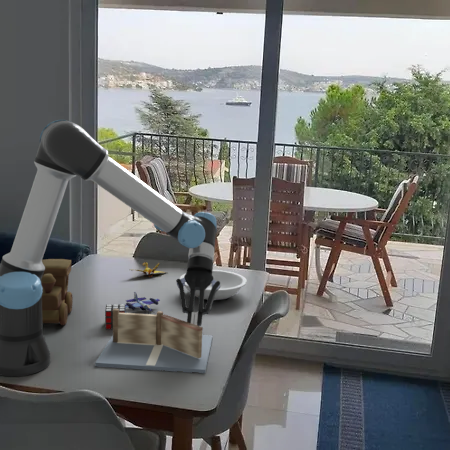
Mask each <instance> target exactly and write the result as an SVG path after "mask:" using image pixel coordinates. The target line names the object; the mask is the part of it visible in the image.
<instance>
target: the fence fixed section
mask: <svg viewBox="0 0 450 450" xmlns="http://www.w3.org/2000/svg"><path fill="white" fill-rule="evenodd" d="M162 315H164V311H161V310H160V311H157V312H156V314H151V313H150V314H148V313H135V312H134V313H133V312H126V313H119V309H113V329H112V335H113V342H128V343H144V344H157V345H162V344H161V316H162Z"/></svg>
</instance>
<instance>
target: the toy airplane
mask: <svg viewBox="0 0 450 450" xmlns="http://www.w3.org/2000/svg"><path fill="white" fill-rule="evenodd" d="M133 293H134V294H133V298H131V299H130V298H129V299H125V302H126V303H125V305H126V308H128V309H130V310H132V311H134V310H135V308H139V310H141V311H144V312H147V311H148V312H147V314H151V313H150V312H152V313H154V310H153V309H151V307H150V305H153V304H154V305H156V306H157V305H159V302H160V301H161V300H160V299H159V298H153V297H152V298H151V297H150V298H149V299H148V300H147V298H146V297H145V296H144V297H139V296H138V294H137V292H136V291H133Z"/></svg>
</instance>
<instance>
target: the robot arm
mask: <svg viewBox="0 0 450 450" xmlns="http://www.w3.org/2000/svg"><path fill="white" fill-rule="evenodd" d="M37 148H38V149H37V152H36V155H35V157H34V161H33V163H34V166H35V167H36V169H37V170H36V174H35V177H34V179H33V182H32V187H31V189H30V192H29V195H28V198H27V201H26V205H25V207H24V209H23V210H24V211H23V213H22V216H21V219H20V222H19V224H18V225H19V226H18V228H17V231H16V235H15V238H14V240H13V244H12V245H11V246H12V247H11V249H10V252H8V253H6V254H4V255H3V256H2V259H1V261H0V376H2V377H23V376H24V377H25V376H29V375H32V374H36V373H39V372H41V371H43V370H45V369H46V368H48V366H50V364H51V351H50V349H49V346H48V344H47V341H46V339H45V336H44V331H43V330H44V329H43V325H44V323H43V321H42V292H43V289H42V285H41V279H42V276H43V273H44V270H45V266H44V265H43V263H42V260H43V258H44V254H45V252H46V249H47V246H48V243H49V240H50V237H51V234H52V231H53V228H54V225H55V223H56V221H57V217H58V216H57V215H58V214H59V211H60V210H59V209H60V207H61V204H62V202H63V198H64V195H65V192H66V189H67V186H68V183H69V181H70V180H71V179H73V178H75V177H77V176H78V177H79V178H81V179H82V180H84V181H85V182H86V181H91V182H94V183H95V184H96V185H98V186H99V187H101V189H103V190H104V191H106V192H108V193H109V194H111V195H112V196H113V197H114V198H116V199H117V200H119V201H120V202H122V203H123V204H125V205H126V206H128V207H129V209H132V210H133V211H135V212H136V213H137V214H139V215H140V216H141V217H143V218H145V219H146V220H148V221H149V222H150V223H151V224H153V226H154V228H155V229H156V230H159V231H160V232H164V233H166V234H167V235H169V236H170V237H171V238H172V239H175V240H176V241H177V242H179V244H180V245H182V246H184V247H185V248H188V249H189V250H188V258H187V259H188V260H187V266H186V274H185V273H184V274H185V276H184V278H182V279H180V278H177V279H175V281H176V282H175V283H176V286H177V287H178V290H179V296H180V302H181V303H180V304H181V309H182V313H183V314H187V318H186V322H188V323H191V324H194V325H197V326H200V327H202V323H203V316H205V315H208V314H210V311H211V310H212V309H211V308H212V305H213V304H214V301H215V300H214V297H215V294H216V292H217V291H218V289H219V288H220V282H219V281H215V280H214V279H213V276H212V271H213V270H214V259H215V258H214V257H215V246H216V239H217V238H216V236H217V235H216V234H217V228H218V227H217V218H216V216H215V215H214V214H212V213H210V212H204V211H200V212H196V213H195V214H194V215H192V214H188V212H187V213H186V212H184V211H183V210H182V209H181V208H179V207H177V206H176V205H175V204H173V202H171V201H169V200H168V199H167V198H166V197H164V196H163V195H162V194H160V193H159V192H158V191H156V190H155V189H153V188H152V187H151V186H149V185H148V184H147V183H145V182H144V181H143V180H141V179H140V178H139V177H138V176H136V175H134V174H133V173H132V172H131V171H129V170H128V169H127V168H125V167H124V166H122V165H121V164H119V162H117V161H116V160H114V159H113V158H112V157H110V156H109V151H108V150H107V149H106V148H105V147H103V146H102V145H101V144H99V142H98V141H96V140H95V138H93V137H92V135H90V134H89V133H88V131H86V130H85V129H84V128H83V127H82V126H80V125H79V124H77V123H75V122H73V121H72V120H66V119H57V120H54V121H51V122H49V123H48V124H47V125H46V126H45V127H44V128H43V129H42V131H41V132H40V135H39V145H38V147H37ZM185 282H186V283H187V284H188V286H189V287H190V289H191V290H190V292H189V301H188V306H187V303H186V296H185V295H186V294H185V289H184V287H185ZM211 283H212V289H211V292H210V295H209V297H208V300H207V299H206V300H207V301H206V304H205V307H204V302H205V299H204V294H205V289H207V288H208V286H209V285H210V284H211ZM196 290H199V291H200V294H199V297H198V304H197V305H198V307H197V312H195V311H194V308H195V307H194V306H195V299H196V296H195V293H196Z"/></svg>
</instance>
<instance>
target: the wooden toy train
mask: <svg viewBox="0 0 450 450" xmlns="http://www.w3.org/2000/svg"><path fill="white" fill-rule="evenodd" d="M42 263H43V265H44V266H45V270H44V273H43V276H42V279H41V285H42V289H43V292H42V321H43V324H59V325H60V326H62V327H64V326H65V325H66V324H67V322H68V316H69V315H68V314H70V313H71V312H72V310H73V293H72V292H71V291H68V288H69V280H70V279H69V275H70V273H71V271H72V259H65V258H48V259H47V258H46V259H42Z"/></svg>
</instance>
